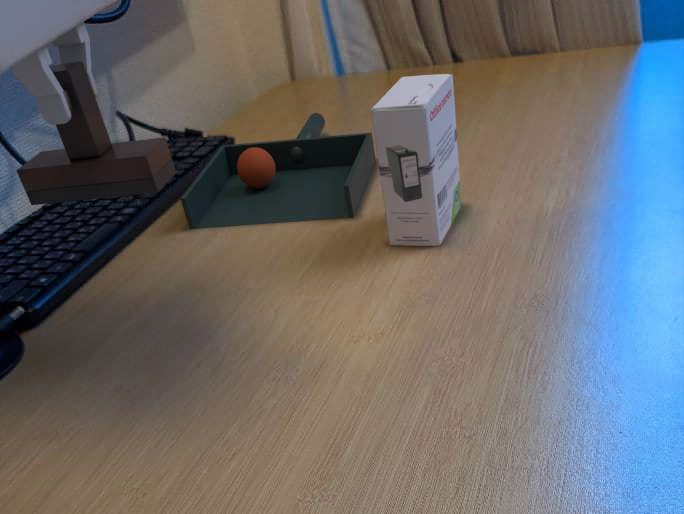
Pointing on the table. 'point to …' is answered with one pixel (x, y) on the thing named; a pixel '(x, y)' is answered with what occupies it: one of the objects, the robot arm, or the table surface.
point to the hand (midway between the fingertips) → (74, 111)
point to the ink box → (418, 159)
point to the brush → (93, 155)
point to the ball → (256, 168)
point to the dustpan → (285, 181)
